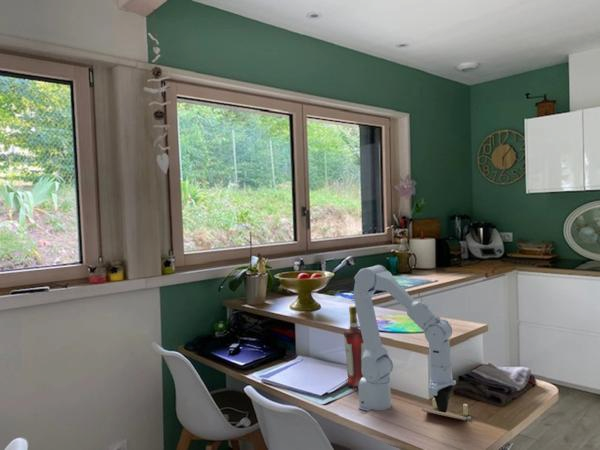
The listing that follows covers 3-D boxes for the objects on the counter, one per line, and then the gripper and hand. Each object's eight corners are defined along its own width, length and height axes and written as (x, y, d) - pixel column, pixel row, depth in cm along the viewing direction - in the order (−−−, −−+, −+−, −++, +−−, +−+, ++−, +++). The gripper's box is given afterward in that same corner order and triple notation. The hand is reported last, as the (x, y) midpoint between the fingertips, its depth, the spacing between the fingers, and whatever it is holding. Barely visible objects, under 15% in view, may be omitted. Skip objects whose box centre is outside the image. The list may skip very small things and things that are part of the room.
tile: (428, 409, 133) (428, 412, 133) (421, 407, 128) (420, 410, 128) (467, 417, 127) (466, 420, 126) (461, 416, 122) (460, 419, 122)
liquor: (344, 382, 161) (340, 305, 161) (364, 380, 162) (360, 304, 161) (348, 390, 154) (344, 309, 154) (369, 388, 155) (365, 308, 154)
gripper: (446, 374, 118) (448, 425, 118) (462, 358, 130) (464, 405, 130) (420, 370, 122) (422, 419, 122) (437, 355, 134) (440, 400, 134)
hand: (442, 411), depth 126 cm, fingers closed, pressing on tile
